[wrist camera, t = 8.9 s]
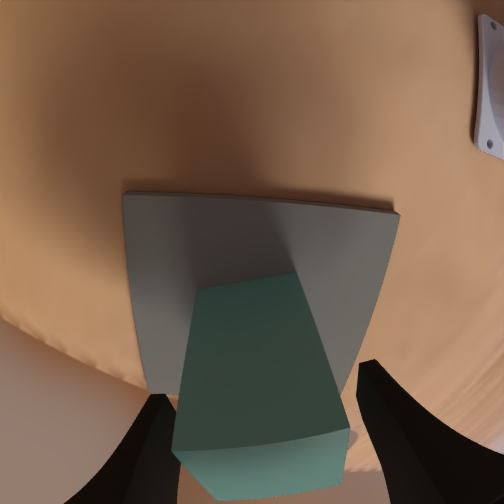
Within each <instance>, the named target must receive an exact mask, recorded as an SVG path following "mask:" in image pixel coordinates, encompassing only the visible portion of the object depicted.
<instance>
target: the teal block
mask: <svg viewBox="0 0 504 504" xmlns="http://www.w3.org/2000/svg"><path fill="white" fill-rule="evenodd" d="M349 433H350V425H349V422H348V419H347V415H346V412H345V409H344V406H343V403H342V400H341V397H340V394H339V391H338V388H337V385H336V382H335V379H334V376H333V373H332V370H331V367H330V364H329V361H328V358H327V355H326V352H325V349H324V347H323V344H322V341H321V338H320V335H319V332H318V329H317V327H316V324H315V321H314V318H313V315H312V313H311V310H310V307H309V304H308V301H307V299H306V296H305V293H304V290H303V288H302V285H301V282H300V280H299V277H298V274H297V272H294V273H289V274H283V275H278V276H273V277H267V278H262V279H256V280H251V281H245V282H239V283H233V284H228V285H222V286H216V287H210V288H204V289H198V290H197V292H196V298H195V303H194V308H193V314H192V319H191V325H190V330H189V336H188V342H187V348H186V354H185V360H184V366H183V372H182V378H181V385H180V391H179V398H178V405H177V412H176V419H175V426H174V434H173V441H172V449H171V451H172V452H173V454H174V455H175V456H176V457H177V458H178V460H179V461H180V462H181V463H182V464H183V465H184V466H185V468H186V469H187V470H188V471H189V472H190V473H191V474H192V475H193V476H194V478H195V479H196V480H197V481H198V482H199V483H200V484H201V485H202V486H203V487H204V488H205V489H206V490H207V491H208V492H209V493H210V494H211V495H212V496H213V497H214V498H215V499H216V500H217V501H230V500H245V499H257V498H266V497H275V496H282V495H289V494H295V493H301V492H307V491H312V490H317V489H322V488H327V487H331V486H335V485H339V484H341V481H342V476H343V471H344V465H345V459H346V453H347V447H348V441H349Z"/></svg>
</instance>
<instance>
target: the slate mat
mask: <svg viewBox="0 0 504 504" xmlns="http://www.w3.org/2000/svg"><path fill="white" fill-rule="evenodd" d="M122 201H123V220H124V234H125V247H126V257H127V267H128V276H129V284H130V292H131V300H132V307H133V313H134V320H135V326H136V332H137V338H138V343H139V349H140V354H141V359H142V364H143V369H144V373H145V378H146V382H147V387H148V391H149V392H151V393H159V394H168V395H178V396H179V391H180V385H181V378H182V372H183V366H184V360H185V354H186V348H187V342H188V336H189V330H190V325H191V319H192V314H193V308H194V303H195V298H196V292H197V290H198V289H204V288H210V287H216V286H222V285H228V284H233V283H239V282H245V281H251V280H256V279H262V278H267V277H273V276H278V275H283V274H289V273H294V272H297V274H298V277H299V280H300V282H301V285H302V288H303V290H304V293H305V296H306V299H307V301H308V304H309V307H310V310H311V313H312V315H313V318H314V321H315V324H316V327H317V329H318V332H319V335H320V338H321V341H322V344H323V347H324V349H325V352H326V355H327V358H328V361H329V364H330V367H331V370H332V373H333V376H334V379H335V382H336V385H337V388H338V391H339V394H340V395H341V393H342V391H343V388H344V386H345V384H346V381H347V379H348V377H349V374H350V372H351V370H352V367H353V365H354V362H355V360H356V357H357V355H358V352H359V350H360V347H361V344H362V342H363V339H364V336H365V334H366V331H367V328H368V325H369V322H370V320H371V317H372V314H373V311H374V308H375V305H376V302H377V299H378V296H379V293H380V289H381V286H382V283H383V280H384V276H385V273H386V270H387V266H388V263H389V259H390V255H391V252H392V248H393V244H394V240H395V236H396V233H397V228H398V224H399V220H400V216H401V215H400V214H398V213H397V212H395V211H391V210H383V209H375V208H367V207H359V206H350V205H341V204H331V203H322V202H311V201H300V200H289V199H277V198H264V197H250V196H234V195H217V194H197V193H171V192H130V191H127V192H126V193H124V194H123V195H122Z"/></svg>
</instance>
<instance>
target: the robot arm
mask: <svg viewBox="0 0 504 504" xmlns="http://www.w3.org/2000/svg"><path fill="white" fill-rule="evenodd" d="M491 26H492V27H491ZM478 32H479V88H478V103H477V115H476V125H475V133H474V145H475V147H476V148H477V149H478V150H481V151H483V152H486V153H488V154H491V155H493V156H495V157H498V158H500V159H502V160H504V27H503V26H502V25H501V24H499V23H498V22H496V21H495V20H494V19H492V18H491V17H489V16H488V15H486V14H480V15H478ZM487 141H488V146H487ZM356 398H357V402H358V405H359V409H360V412H361V416H362V419H363V422H364V424H365V427H366V429H367V432H368V434H369V437H370V439H371V441H372V444H373V446H374V449H375V451H376V454H377V456H378V459H379V461H380V464H381V467H382V470H383V473H384V477H385V480H386V485H387V489H388V493H389V498H390V502H391V504H504V455H503V454H500V453H498V452H495V451H493V450H491V449H488V448H486V447H484V446H482V445H480V444H478V443H476V442H474V441H472V440H470V439H468V438H467V437H465V436H463V435H461V434H460V433H458V432H456V431H455V430H453V429H452V428H450V427H449V426H447V425H446V424H444V423H443V422H442V421H440V420H439V419H438V418H436V417H435V416H434V415H432V414H431V413H430V412H429V411H428V410H426V409H425V408H424V407H423V406H422V405H420V404H419V403H418V402H417V401H416V400H415V399H414V398H413V397H412V396H411V395H410V394H408V393H407V392H406V391H405V390H404V389H403V388H402V387H401V386H400V385H399V384H398V383H397V382H396V381H395V380H394V379H393V378H392V377H391V376H390V374H389V373H388V372H387V371H386V370H385V369H384V368H383V367H382V366H381V365H380V363H379V362H378V361H377V360H375V359H373V360H369V361H366V362H362V363H359V370H358V381H357V391H356ZM175 419H176V411H175V409H174V408H173V406H172V404H171V402H170V401H169V399H168V397H167V396H166V394H151V395H150V396H149V397H148V399H147V401H146V403H145V404H144V406H143V407H142V409H141V411H140V413H139V414H138V416H137V417H136V419H135V421H134V422H133V424H132V426H131V427H130V429H129V430H128V432H127V434H126V435H125V437H124V438H123V440H122V441H121V443H120V444H119V445H118V447H117V448H116V450H115V451H114V453H113V454H112V455H111V457H110V458H109V459H108V460H107V462H106V463H105V464H104V466H103V467H102V468H101V469H100V470H99V471H98V473H97V474H96V475H95V476H94V477H93V478H92V479H91V480H90V481H89V482H88V483H87V484H86V485H85V486H84V487H83V488H82V489H81V490H80V491H79V492H77V493H76V494H75V495H74V496H73V497H71V498H70V499H69V500H68V501H67V502H65V503H64V504H177V491H178V482H179V474H180V465H181V462H180V461H179V460H178V458H177V457H176V456H175V455H174V454H173V452H172V451H171V449H172V441H173V434H174V426H175Z"/></svg>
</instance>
